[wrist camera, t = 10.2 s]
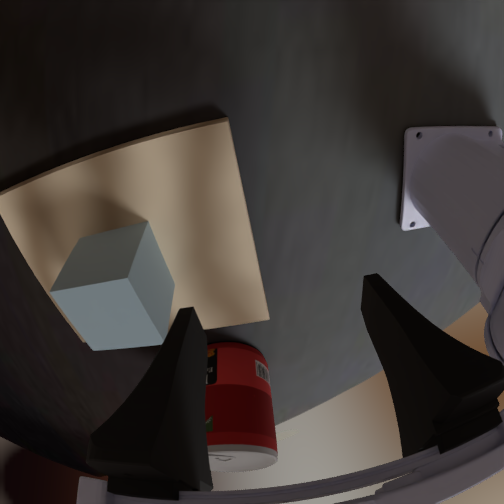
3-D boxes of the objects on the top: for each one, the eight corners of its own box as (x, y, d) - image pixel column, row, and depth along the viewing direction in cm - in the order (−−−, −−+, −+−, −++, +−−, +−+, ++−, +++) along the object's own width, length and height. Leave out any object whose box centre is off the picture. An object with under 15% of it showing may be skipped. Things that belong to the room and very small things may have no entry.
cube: (148, 220, 19) (127, 277, 15) (175, 284, 23) (165, 344, 18) (79, 238, 20) (49, 292, 15) (111, 294, 23) (93, 350, 19)
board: (227, 116, 17) (227, 121, 16) (268, 308, 27) (269, 319, 26) (1, 191, 18) (-7, 199, 17) (86, 332, 28) (83, 342, 27)
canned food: (199, 332, 28) (195, 447, 19) (280, 347, 30) (295, 453, 21) (182, 373, 32) (177, 467, 23) (251, 384, 34) (258, 473, 25)
